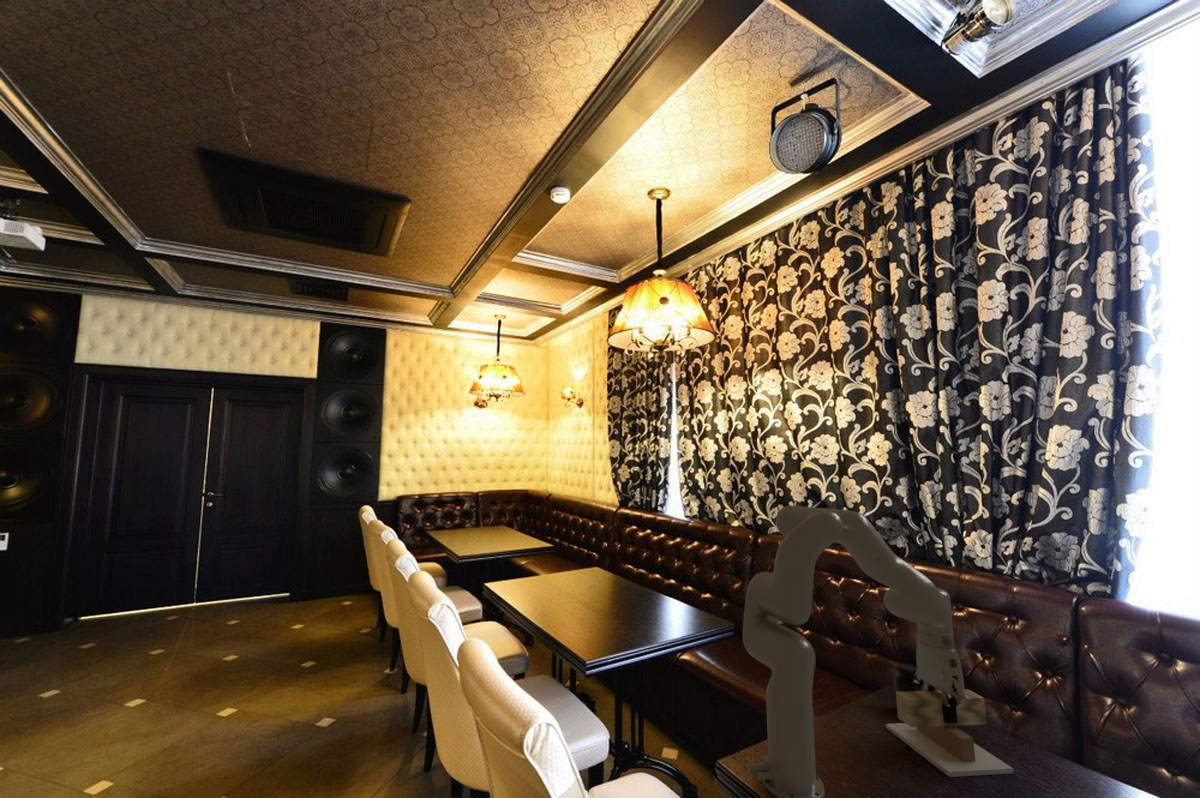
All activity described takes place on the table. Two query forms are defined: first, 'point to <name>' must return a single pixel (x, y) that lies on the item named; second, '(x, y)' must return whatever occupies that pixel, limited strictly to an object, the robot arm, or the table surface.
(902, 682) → the supplement bottle
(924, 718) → the birch beam
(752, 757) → the table surface
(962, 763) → the board
